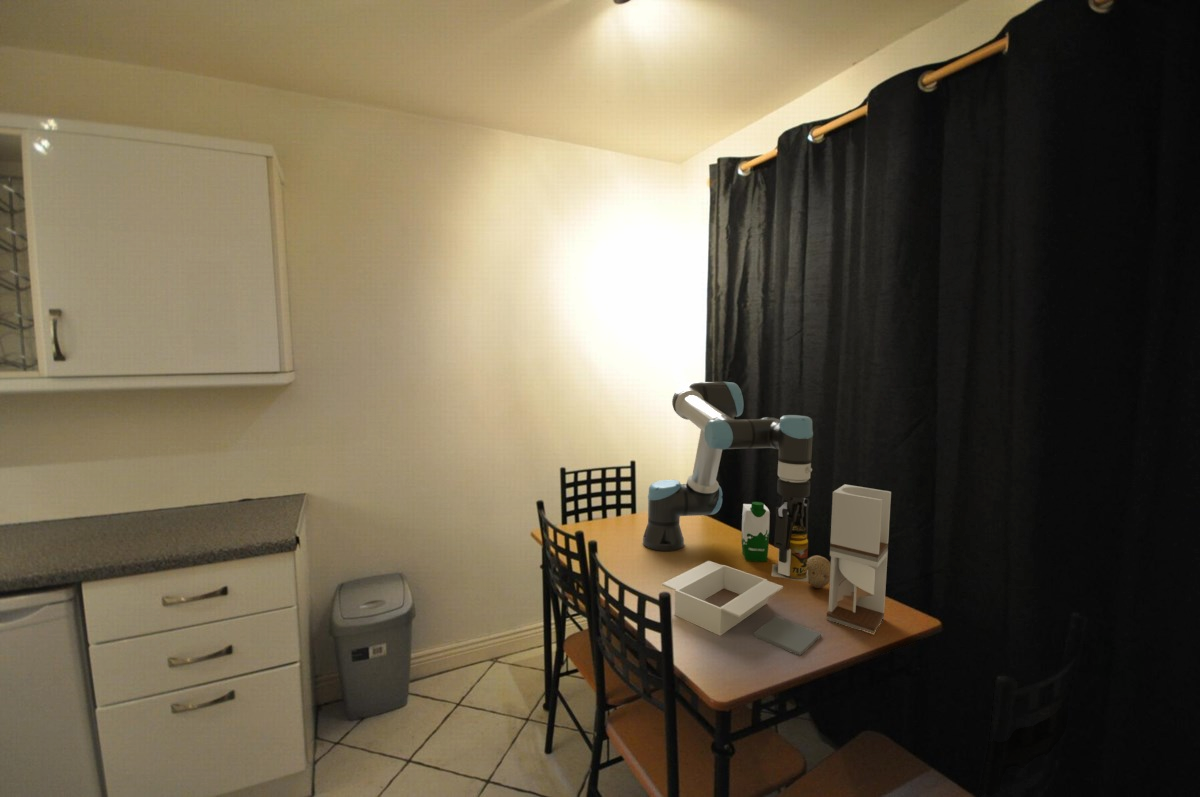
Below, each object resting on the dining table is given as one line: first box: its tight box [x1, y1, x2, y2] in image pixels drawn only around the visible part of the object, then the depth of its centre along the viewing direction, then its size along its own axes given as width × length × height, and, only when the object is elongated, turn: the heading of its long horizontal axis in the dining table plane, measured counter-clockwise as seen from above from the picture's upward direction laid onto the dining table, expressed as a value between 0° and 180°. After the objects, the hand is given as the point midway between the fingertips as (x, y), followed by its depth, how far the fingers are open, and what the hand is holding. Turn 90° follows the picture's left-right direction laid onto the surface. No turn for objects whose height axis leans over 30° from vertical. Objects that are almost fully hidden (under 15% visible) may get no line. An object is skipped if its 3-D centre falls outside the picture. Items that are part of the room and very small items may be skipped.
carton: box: [661, 560, 784, 637], centre depth 143 cm, size 24×24×7 cm
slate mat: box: [753, 615, 822, 656], centre depth 130 cm, size 12×12×1 cm
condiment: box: [771, 524, 809, 583], centre depth 127 cm, size 7×8×12 cm
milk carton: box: [741, 501, 771, 563], centre depth 179 cm, size 9×9×20 cm
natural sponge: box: [807, 555, 831, 589], centre depth 156 cm, size 9×9×10 cm
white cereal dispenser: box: [826, 483, 892, 633], centre depth 136 cm, size 11×11×35 cm
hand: (790, 569), depth 128 cm, fingers closed on condiment, 6 cm apart
